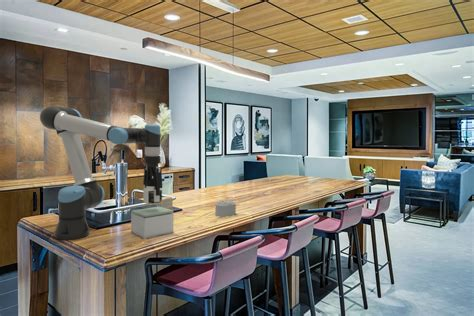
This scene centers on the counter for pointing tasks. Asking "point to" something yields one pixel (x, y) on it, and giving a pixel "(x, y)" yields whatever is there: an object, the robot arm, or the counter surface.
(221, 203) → the lumpy-topped squat cylinder
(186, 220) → the counter surface
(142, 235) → the storage box
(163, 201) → the supplement box
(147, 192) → the medicine bottle
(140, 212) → the lid
